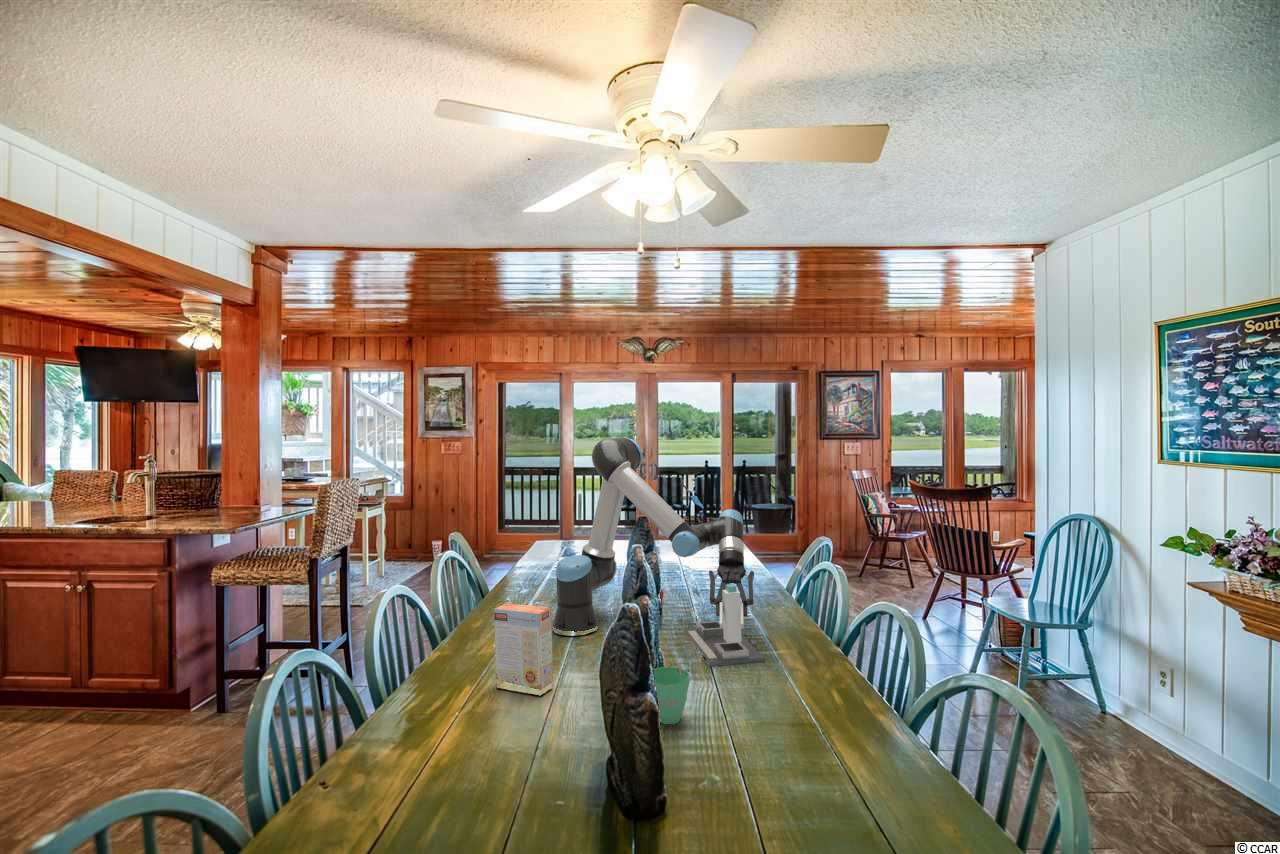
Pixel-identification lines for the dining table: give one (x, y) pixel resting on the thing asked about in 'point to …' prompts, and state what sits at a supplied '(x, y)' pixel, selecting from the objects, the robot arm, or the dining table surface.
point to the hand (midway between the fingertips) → (731, 625)
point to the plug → (731, 614)
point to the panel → (721, 646)
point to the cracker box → (523, 645)
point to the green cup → (671, 693)
